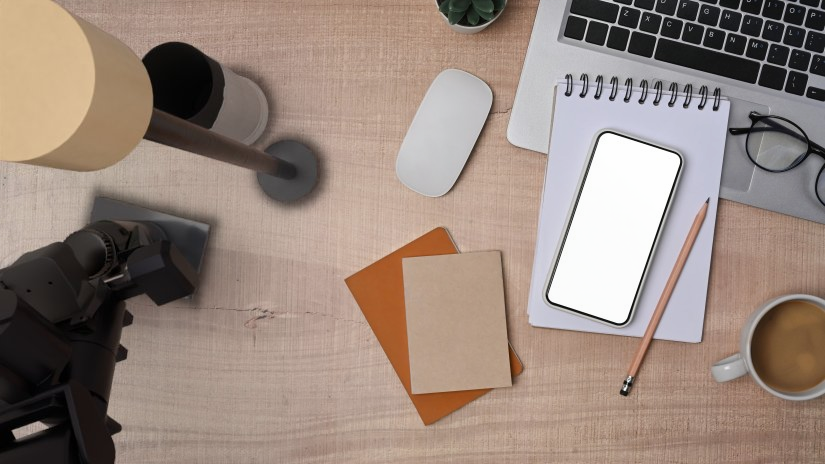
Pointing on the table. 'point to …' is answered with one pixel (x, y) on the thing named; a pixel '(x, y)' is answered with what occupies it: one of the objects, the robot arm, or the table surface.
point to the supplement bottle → (107, 245)
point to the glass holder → (205, 92)
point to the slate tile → (178, 230)
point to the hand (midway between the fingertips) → (108, 239)
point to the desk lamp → (107, 105)
